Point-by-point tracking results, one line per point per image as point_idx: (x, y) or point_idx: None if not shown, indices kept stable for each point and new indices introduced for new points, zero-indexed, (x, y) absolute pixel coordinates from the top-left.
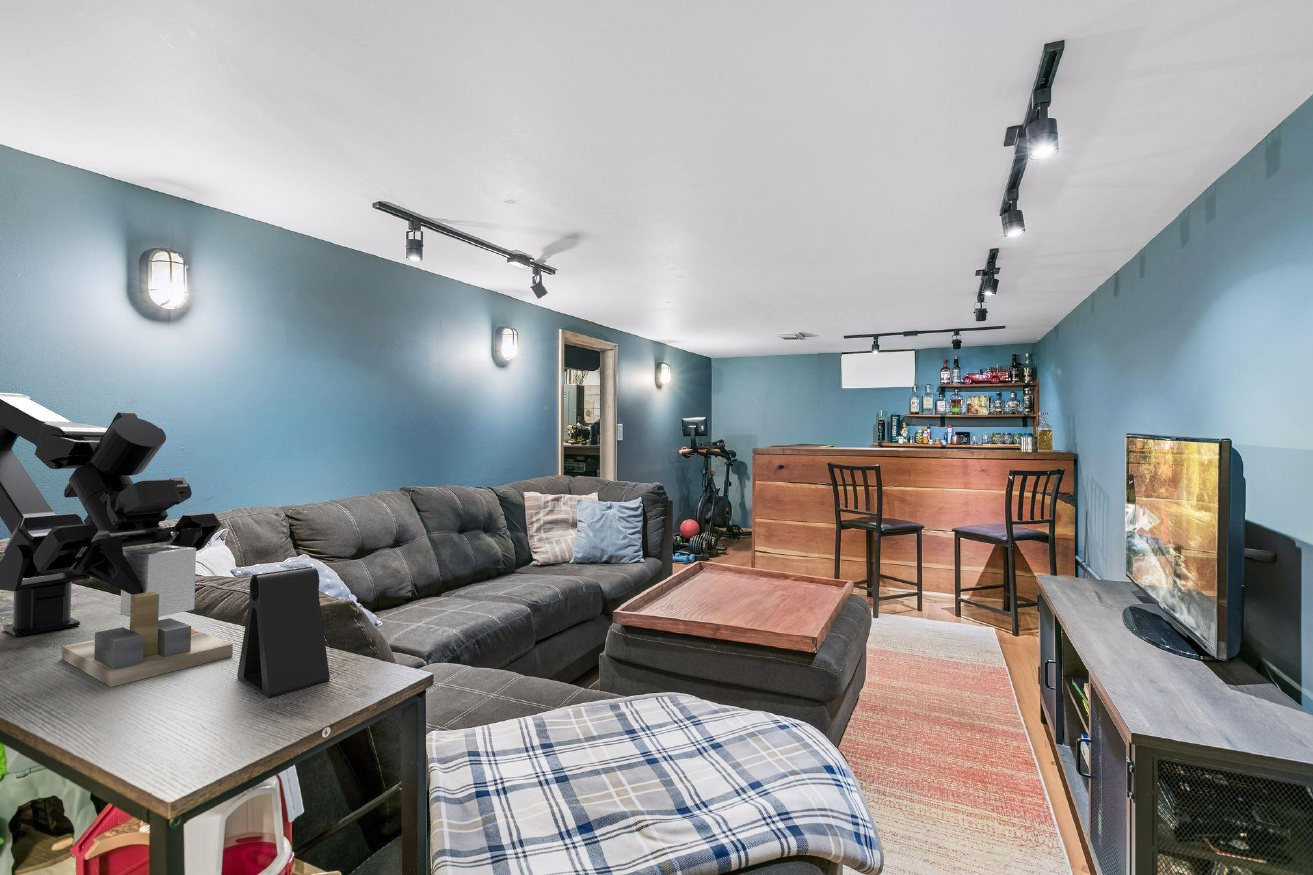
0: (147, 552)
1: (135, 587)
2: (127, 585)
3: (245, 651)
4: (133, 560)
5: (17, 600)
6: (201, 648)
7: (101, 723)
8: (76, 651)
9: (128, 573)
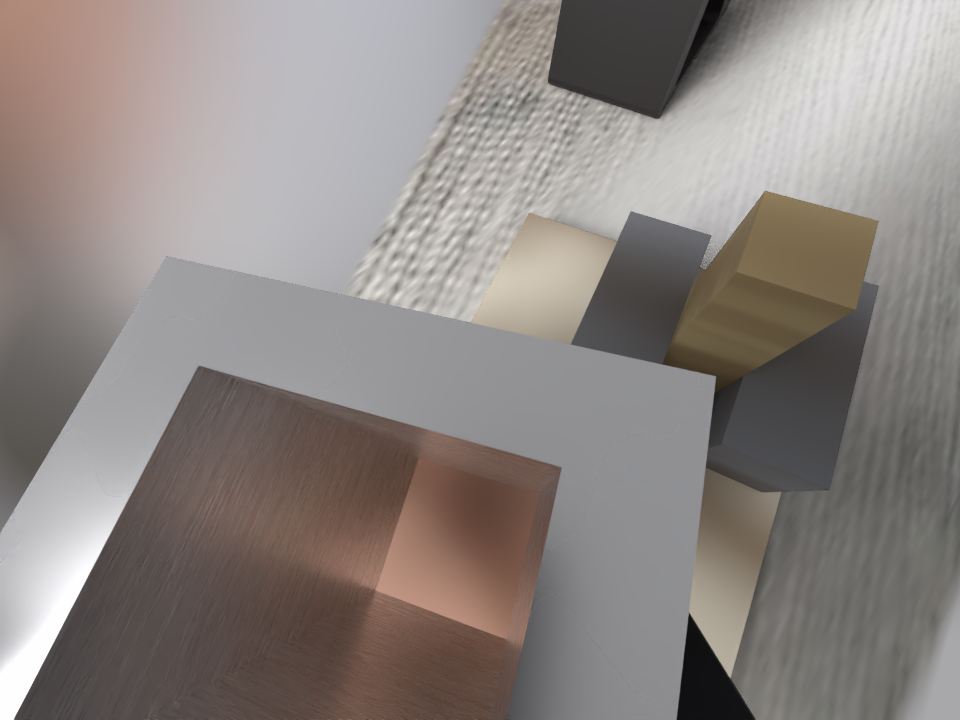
0: (568, 577)
1: None
2: None
3: (703, 12)
4: None
5: None
6: (582, 257)
7: (952, 157)
8: None
9: (687, 643)
